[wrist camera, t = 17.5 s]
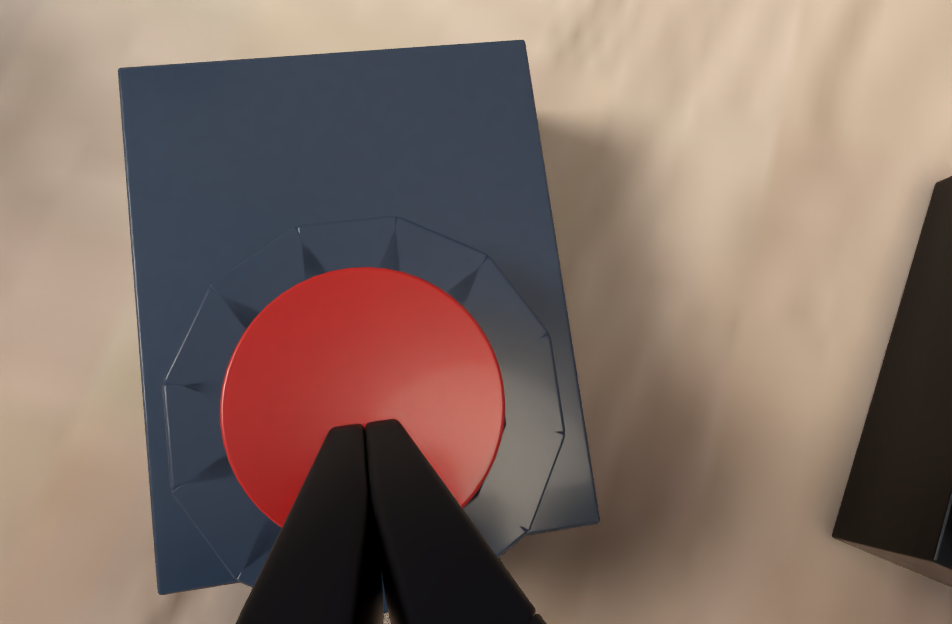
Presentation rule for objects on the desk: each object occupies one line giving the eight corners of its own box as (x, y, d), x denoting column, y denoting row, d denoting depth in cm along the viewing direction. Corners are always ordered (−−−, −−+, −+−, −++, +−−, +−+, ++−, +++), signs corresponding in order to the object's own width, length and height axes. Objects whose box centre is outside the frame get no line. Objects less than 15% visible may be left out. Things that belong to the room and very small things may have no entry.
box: (562, 530, 19) (632, 570, 14) (206, 588, 18) (129, 658, 13) (500, 109, 21) (540, -4, 16) (168, 136, 20) (84, 24, 14)
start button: (498, 508, 14) (524, 527, 12) (262, 545, 14) (232, 574, 11) (466, 283, 15) (485, 251, 12) (240, 309, 14) (206, 282, 12)
